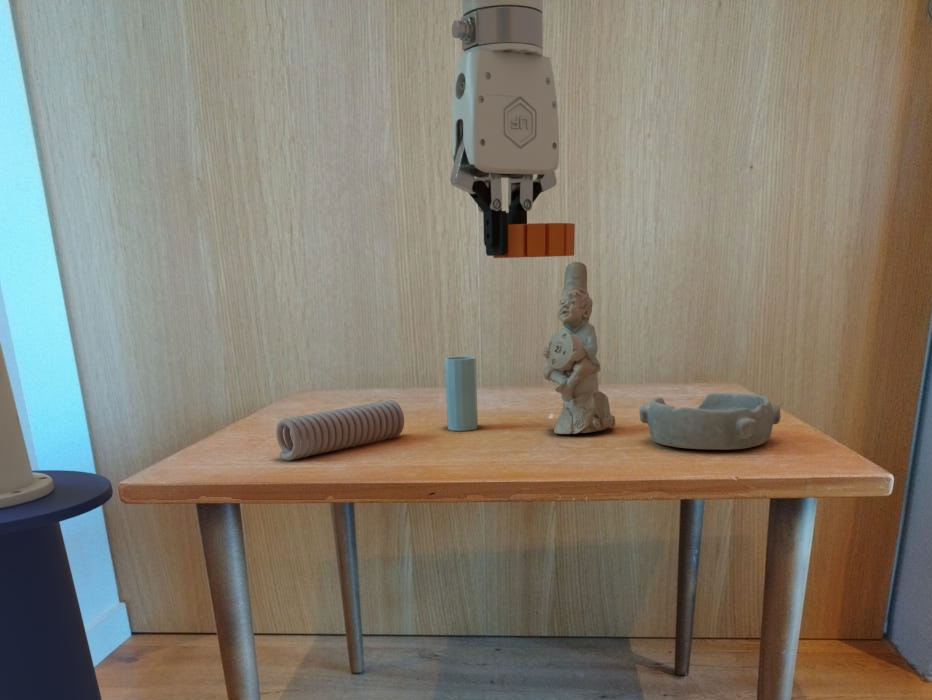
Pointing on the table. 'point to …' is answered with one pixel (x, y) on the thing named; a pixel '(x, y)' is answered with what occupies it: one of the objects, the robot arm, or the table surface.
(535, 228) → the ring
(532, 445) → the table surface
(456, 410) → the tumbler
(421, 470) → the table surface
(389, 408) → the coil
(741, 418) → the dish
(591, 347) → the figurine
